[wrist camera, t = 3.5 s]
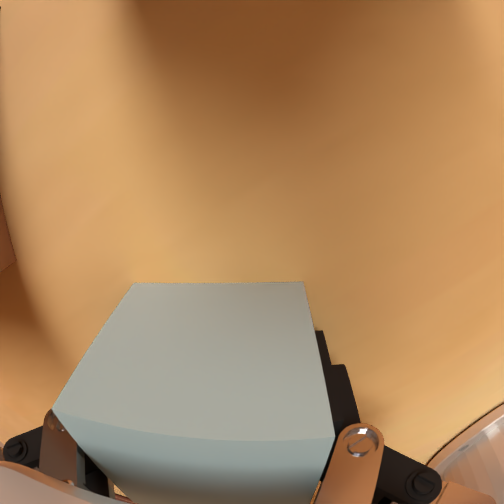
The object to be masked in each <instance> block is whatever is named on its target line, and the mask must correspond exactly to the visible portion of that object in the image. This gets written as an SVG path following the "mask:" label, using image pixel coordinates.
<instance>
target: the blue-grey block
mask: <svg viewBox="0 0 504 504" xmlns="http://www.w3.org/2000/svg"><path fill="white" fill-rule="evenodd" d="M52 411H53V412H54V413H55V415H56V416H57V418H58V419H59V420H60V422H61V423H62V424H63V426H64V427H65V428H66V430H67V431H68V432H69V434H70V435H71V436H72V437H73V439H74V440H75V441H76V442H77V444H78V445H79V446H80V447H81V448H82V450H83V451H84V452H85V453H86V454H87V455H88V457H89V458H90V459H91V460H92V461H93V462H94V463H95V464H96V465H97V467H98V468H99V469H100V470H101V471H102V472H103V473H104V474H105V475H106V476H107V477H108V478H109V479H110V480H111V481H112V482H113V483H114V484H115V485H116V486H117V487H118V488H119V489H120V490H121V491H122V492H123V493H124V494H125V495H126V496H127V497H128V498H129V499H131V500H132V501H133V502H134V503H138V504H310V502H311V499H312V497H313V494H314V492H315V490H316V487H317V485H318V482H319V480H320V477H321V475H322V472H323V470H324V467H325V464H326V462H327V459H328V456H329V453H330V450H331V448H332V445H333V442H334V439H335V432H334V427H333V421H332V415H331V410H330V405H329V399H328V394H327V389H326V384H325V379H324V374H323V369H322V364H321V359H320V354H319V350H318V345H317V340H316V336H315V331H314V326H313V322H312V317H311V313H310V309H309V304H308V300H307V295H306V291H305V287H304V283H303V282H263V283H133V285H132V286H131V288H130V289H129V290H128V292H127V293H126V294H125V296H124V297H123V299H122V300H121V301H120V303H119V304H118V306H117V307H116V309H115V310H114V311H113V313H112V314H111V316H110V317H109V319H108V320H107V322H106V323H105V324H104V326H103V327H102V329H101V330H100V332H99V333H98V335H97V336H96V338H95V339H94V341H93V342H92V344H91V345H90V347H89V348H88V350H87V351H86V353H85V355H84V356H83V358H82V359H81V361H80V362H79V364H78V366H77V367H76V369H75V370H74V372H73V374H72V375H71V377H70V378H69V380H68V382H67V383H66V385H65V387H64V388H63V390H62V392H61V393H60V395H59V397H58V398H57V400H56V402H55V403H54V405H53V407H52Z"/></svg>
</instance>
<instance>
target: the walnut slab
mask: <svg viewBox="0 0 504 504" xmlns="http://www.w3.org/2000/svg"><path fill="white" fill-rule="evenodd" d="M0 9H1V7H0ZM15 261H16V257H15V254H14V250H13V247H12V243H11V239H10V236H9V232H8V228H7V223H6V219H5V215H4V210H3V205H2V200H1V195H0V272H1V271H3V270H4V269H5V268H7V267H8V266H9V265H11V264H12V263H13V262H15Z"/></svg>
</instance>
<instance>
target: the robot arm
mask: <svg viewBox="0 0 504 504" xmlns="http://www.w3.org/2000/svg"><path fill="white" fill-rule="evenodd" d="M315 336H316V340H317V345H318V350H319V354H320V359H321V364H322V369H323V374H324V379H325V384H326V389H327V394H328V399H329V405H330V410H331V415H332V421H333V427H334V432H335V439H334V442H333V445H332V448H331V450H330V453H329V456H328V459H327V462H326V464H325V467H324V470H323V472H322V475H321V477H320V481H321V484H320V487H319V489H318V492H317V495H316V497H315V500H314V502H313V504H504V404H503V405H501V406H499V407H498V408H496V409H495V410H493V411H492V412H490V413H489V414H488V415H486V416H485V417H483V418H482V419H480V420H479V421H478V422H476V423H475V424H474V425H472V426H471V427H469V428H468V429H467V430H466V431H464V432H463V433H462V434H460V435H459V436H458V437H457V438H455V439H454V440H453V441H452V442H450V443H449V444H448V445H447V446H446V447H445V448H443V449H442V450H441V451H440V452H439V453H438V454H437V455H436V456H435V457H434V458H433V459H432V460H431V461H430V463H429V464H428V466H426V465H423V464H421V463H419V462H417V461H415V460H413V459H411V458H409V457H407V456H405V455H403V454H401V453H399V452H397V451H395V450H393V449H391V448H389V447H387V446H385V445H384V438H383V435H382V433H381V432H380V431H379V430H378V429H377V428H375V427H374V426H372V425H369V424H365V423H361V422H360V418H359V414H358V410H357V406H356V402H355V399H354V395H353V391H352V388H351V384H350V380H349V377H348V373H347V370H346V367H345V365H344V364H339V365H331V361H330V357H329V353H328V349H327V345H326V341H325V337H324V333H323V331H315ZM0 504H130V503H126V502H122V501H119V500H115V492H114V484H113V482H112V481H111V480H110V479H109V478H108V477H107V476H106V475H105V474H104V473H103V472H102V471H101V470H100V469H99V468H98V467H97V465H96V464H95V463H94V462H93V461H92V460H91V459H90V458H89V457H88V455H87V454H86V453H85V452H84V451H83V450H82V448H81V447H80V446H79V445H78V444H77V442H76V441H75V440H74V439H73V437H72V436H71V435H70V434H69V432H68V431H67V430H66V428H65V427H64V426H63V424H62V423H61V422H60V420H59V419H58V418H57V416H56V415H55V413H54V412H53V411H52V409H50V410H49V411H48V412H47V414H46V415H45V419H44V424H43V426H41V427H38V428H36V429H33V430H31V431H28V432H26V433H23V434H21V435H18V436H15V437H13V438H11V439H9V440H8V441H7V442H6V444H5V445H4V448H2V447H0Z"/></svg>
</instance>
